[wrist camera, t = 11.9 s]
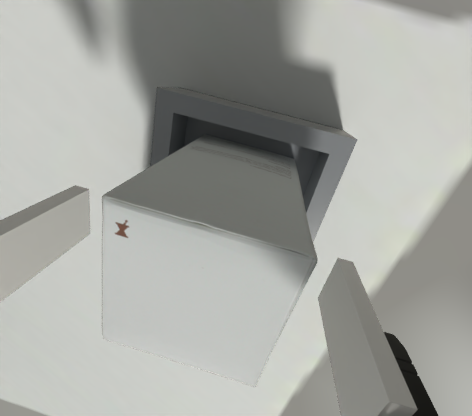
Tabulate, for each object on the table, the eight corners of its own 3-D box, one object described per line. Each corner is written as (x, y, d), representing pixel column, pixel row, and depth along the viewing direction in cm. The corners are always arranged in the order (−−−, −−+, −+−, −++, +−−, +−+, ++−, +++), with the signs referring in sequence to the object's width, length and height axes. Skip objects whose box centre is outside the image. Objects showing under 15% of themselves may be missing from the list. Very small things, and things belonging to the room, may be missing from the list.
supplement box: (188, 215, 23) (93, 341, 11) (204, 131, 19) (94, 188, 8) (269, 240, 22) (255, 394, 11) (299, 158, 19) (323, 258, 8)
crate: (163, 227, 25) (143, 250, 21) (180, 87, 19) (157, 87, 16) (289, 263, 24) (290, 293, 21) (343, 130, 19) (357, 139, 15)
